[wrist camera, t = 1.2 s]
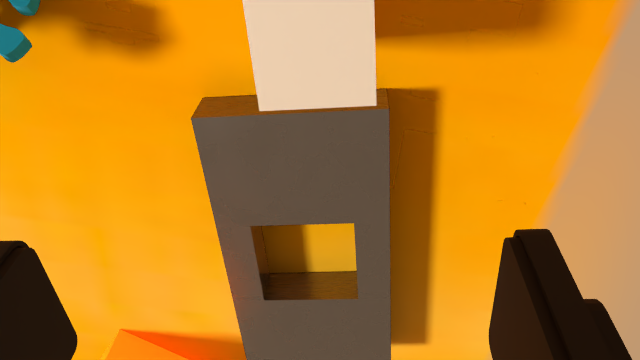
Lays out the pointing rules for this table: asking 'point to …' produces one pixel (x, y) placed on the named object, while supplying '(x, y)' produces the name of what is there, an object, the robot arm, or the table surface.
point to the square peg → (312, 53)
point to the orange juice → (136, 349)
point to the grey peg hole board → (301, 222)
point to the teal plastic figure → (17, 32)
